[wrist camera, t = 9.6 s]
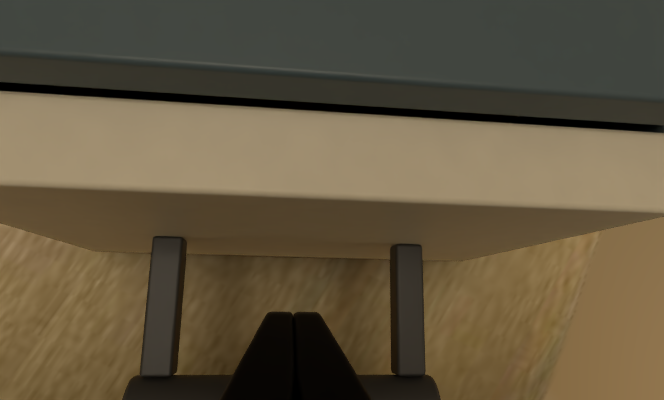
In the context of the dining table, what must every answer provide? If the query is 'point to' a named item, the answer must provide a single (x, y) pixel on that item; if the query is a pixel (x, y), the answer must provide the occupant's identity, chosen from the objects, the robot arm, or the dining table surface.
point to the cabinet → (356, 54)
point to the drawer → (306, 196)
